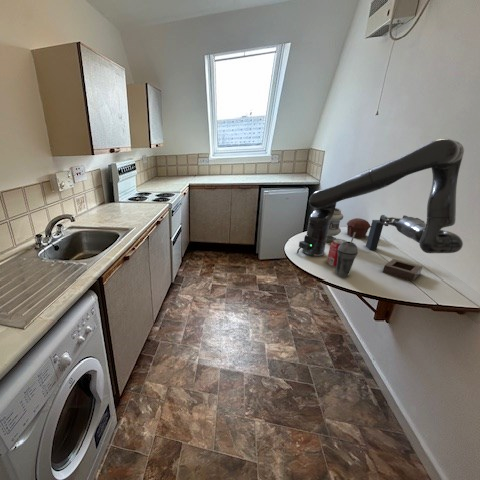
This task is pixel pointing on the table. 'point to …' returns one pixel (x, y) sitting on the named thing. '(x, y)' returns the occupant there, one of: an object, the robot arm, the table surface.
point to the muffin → (357, 227)
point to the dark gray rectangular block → (374, 235)
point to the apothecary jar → (334, 225)
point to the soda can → (334, 252)
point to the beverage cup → (346, 257)
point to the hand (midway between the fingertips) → (392, 217)
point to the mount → (402, 269)
